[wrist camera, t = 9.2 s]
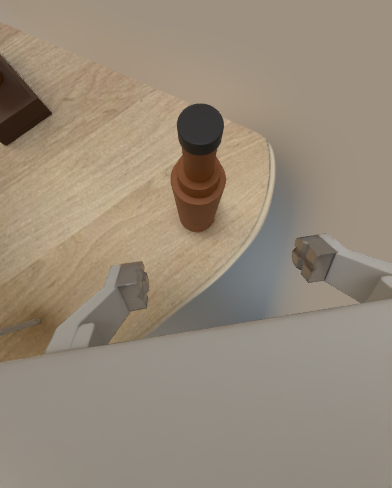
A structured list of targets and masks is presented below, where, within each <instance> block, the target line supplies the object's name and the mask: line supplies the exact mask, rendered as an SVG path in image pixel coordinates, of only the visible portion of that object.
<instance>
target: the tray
mask: <svg viewBox="0 0 392 488" xmlns="http://www.w3.org/2000/svg"><path fill="white" fill-rule="evenodd" d="M0 72H1V73H2V76H3V81H2V84H1V86H0V142H1V143H2V144H4V145H5V146H6V145H8V144H9V143H10V142H12V141H13V140H15V139H16V138H18V137H19V136H20V135H22V134H23V133H25V132H26V131H28V130H29V129H30V128H32V127H33V126H35V125H36V124H37V123H39V122H40V121H42V120H43V119H45V118H46V117H47V116H49V115H50V114H51V112H50V111H49V110H48V108H47V107H46V106H45V105H44V104H43V103H42V102H41V101H40V99H39V98H38V97H37V96H36V95H35V94H34V93H33V91H32V90H31V89H30V88H29V87H28V86H27V85H26V83H25V82H24V81H23V80H22V79H21V78H20V77H19V76H18V74H17V73H16V72H15V71H14V70H13V69H12V68H11V66H10V65H9V64H8V63H7V62H6V61H5V60H4V58H3V57H2V56H1V55H0Z"/></svg>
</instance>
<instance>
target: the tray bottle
mask: <svg viewBox="0 0 392 488" xmlns="http://www.w3.org/2000/svg"><path fill="white" fill-rule="evenodd" d="M2 81H3V76H2V73H1V72H0V86H1V84H2Z"/></svg>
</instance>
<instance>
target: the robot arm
mask: <svg viewBox="0 0 392 488" xmlns="http://www.w3.org/2000/svg"><path fill="white" fill-rule="evenodd" d="M294 245H295V246H296V248H295V249H294V250H293V252H292V261H293V263H294V265H295V266H296V268H298V269H300V270H302V271H301V274H302V276H303V277H304V278H305V279H306V281H307V282H308V283H311V282H318V281H325V282H326V283H328V284H330V285H331V286H333V287H335V288H336V289H338V290H340V291H341V292H343V293H345V294H347V295H348V296H350V297H351V298H353V299H355V300H356V301H358V302H360V304H354V305H347V306H341V307H335V308H329V309H323V310H317V311H310V312H305V313H299V314H292V315H286V316H280V317H274V318H267V319H261V320H255V321H249V322H243V323H237V324H230V325H224V326H219V327H212V328H206V329H200V330H194V331H187V332H181V333H175V334H169V335H163V336H157V337H151V338H144V339H138V340H132V341H126V342H120V343H114V344H108V343H109V341H110V340H111V338H112V337H113V336H114V334H115V333H116V331H117V330H118V329H119V327H120V326H121V324H122V323H123V322H124V320H125V319H126V317H127V316H128V315H129V313H130V311H135V310H140V309H146V308H147V302H148V296H147V294H146V293H147V292H148V291H149V280H148V275H147V273H146V272H144V268H145V267H144V264H143V262H142V261H140V262H132V263H124V264H118V265H112V266H111V268H110V270H109V273H108V276H107V279H106V282H105V284H104V287H103V289H100V290H99V291H98V292H96V293H95V294H94V295H93V296H92V297H91V298H90V299H89V300H87V301H86V302H85V303H84V304H83V305H82V306H81V307H79V308H78V309H77V310H76V311H75V312H74V313H73V314H72V315H70V316H69V317H68V318H67V319H66V320H65V321H64V322H63V323H61V324H60V325H59V326H58V327H57V328H56V330H55V332H54V334H53V336H52V338H51V340H50V342H49V344H48V346H47V348H46V350H45V352H44V354H43V355H40V356H34V357H28V358H22V359H16V360H9V361H3V362H0V488H392V264H390V263H387V262H384V261H381V260H379V259H375V258H373V257H369V256H367V255H364V254H361V253H358V252H355V251H349V250H347V249H346V248H345V247H344V246H342V245H341V244H340V243H339V242H338V241H336V240H335V239H334V238H333V237H331V236H330V235H329V234H327V233H323V234H318V235H313V236H307V237H300V238H297V239H296V240H295V243H294Z"/></svg>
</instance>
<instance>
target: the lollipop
mask: <svg viewBox="0 0 392 488" xmlns="http://www.w3.org/2000/svg"><path fill="white" fill-rule="evenodd" d="M39 323H40V319H39V318H38V319H34V320H30V321H26V322H23V323H19V324H15V325H12V326H8V327H4V328H1V329H0V336H1V335H4V334H8V333H11V332H14V331H17V330H20V329H24V328H27V327H30V326H33V325H37V324H39Z"/></svg>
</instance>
